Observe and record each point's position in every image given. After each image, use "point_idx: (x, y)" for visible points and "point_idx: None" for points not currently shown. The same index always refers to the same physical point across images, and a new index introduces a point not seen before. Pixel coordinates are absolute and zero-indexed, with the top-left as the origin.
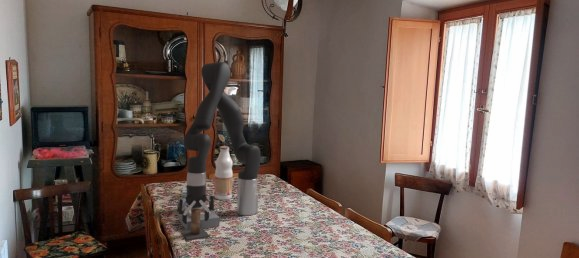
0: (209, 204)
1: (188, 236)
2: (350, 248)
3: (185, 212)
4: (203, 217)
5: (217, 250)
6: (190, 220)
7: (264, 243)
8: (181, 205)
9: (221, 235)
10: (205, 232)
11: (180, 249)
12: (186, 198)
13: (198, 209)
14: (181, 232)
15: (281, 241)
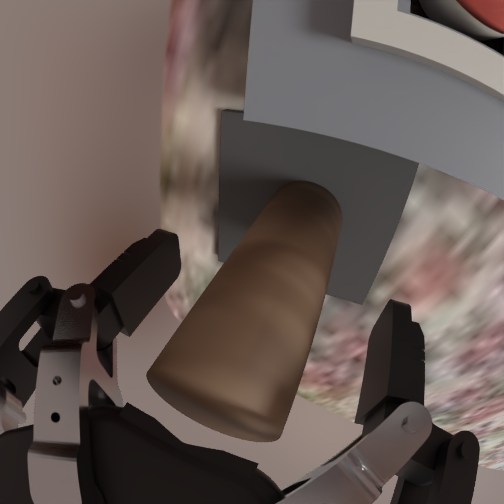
0: (428, 499)
1: (238, 232)
2: (496, 461)
3: (98, 355)
4: (494, 117)
5: (299, 386)
6: (296, 101)
7: (450, 423)
8: (23, 392)
9: (429, 321)
10: (379, 249)
11: (176, 304)
12: (7, 466)
13: (245, 430)
14: (224, 118)
15: (484, 428)
